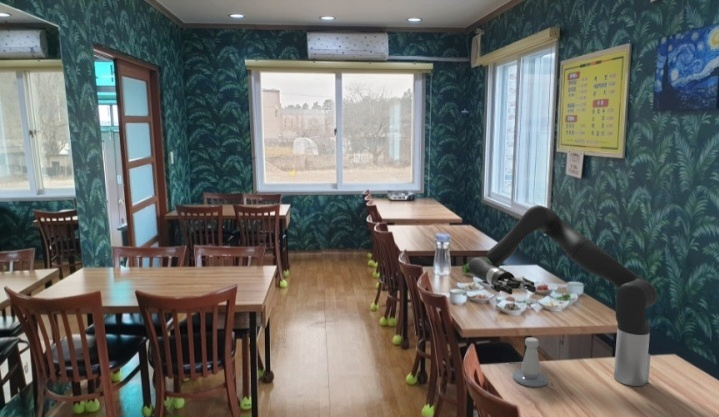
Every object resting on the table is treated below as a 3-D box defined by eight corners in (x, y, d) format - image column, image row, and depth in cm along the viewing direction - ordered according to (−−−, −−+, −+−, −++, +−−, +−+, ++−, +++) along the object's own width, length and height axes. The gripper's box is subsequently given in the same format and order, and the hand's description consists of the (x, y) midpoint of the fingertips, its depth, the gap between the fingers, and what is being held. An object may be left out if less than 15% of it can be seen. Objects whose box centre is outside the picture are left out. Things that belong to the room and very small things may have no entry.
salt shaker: (540, 381, 161) (542, 343, 159) (522, 379, 162) (524, 341, 160) (538, 373, 167) (540, 336, 165) (520, 371, 168) (521, 334, 166)
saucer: (536, 370, 171) (537, 368, 171) (554, 386, 160) (555, 383, 160) (506, 373, 169) (507, 370, 169) (523, 389, 158) (523, 386, 158)
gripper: (482, 270, 184) (504, 281, 168) (518, 268, 187) (542, 278, 171) (482, 290, 185) (503, 303, 169) (517, 287, 188) (541, 300, 172)
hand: (523, 290), depth 170 cm, fingers open, 8 cm apart
